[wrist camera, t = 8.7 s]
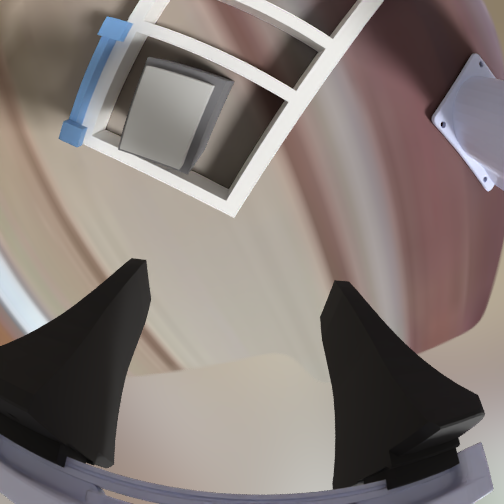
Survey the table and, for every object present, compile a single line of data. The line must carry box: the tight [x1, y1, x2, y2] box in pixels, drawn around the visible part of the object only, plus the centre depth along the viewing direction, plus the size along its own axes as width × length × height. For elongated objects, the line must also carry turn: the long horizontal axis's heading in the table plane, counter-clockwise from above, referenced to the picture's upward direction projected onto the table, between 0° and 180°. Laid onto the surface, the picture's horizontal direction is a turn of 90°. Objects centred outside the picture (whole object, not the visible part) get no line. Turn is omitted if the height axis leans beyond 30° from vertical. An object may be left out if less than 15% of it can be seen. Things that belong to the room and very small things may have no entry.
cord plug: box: [118, 57, 235, 174], centre depth 14 cm, size 4×5×6 cm
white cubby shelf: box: [59, 0, 384, 218], centre depth 12 cm, size 13×21×4 cm, turn 150°
